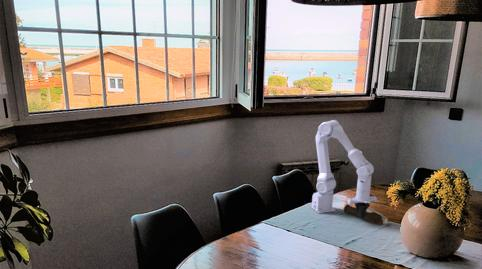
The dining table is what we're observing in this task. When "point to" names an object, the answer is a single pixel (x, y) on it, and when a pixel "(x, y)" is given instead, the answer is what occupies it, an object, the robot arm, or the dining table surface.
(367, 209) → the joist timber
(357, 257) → the dining table surface
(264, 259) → the dining table surface
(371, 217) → the hand tool
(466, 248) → the dining table surface
